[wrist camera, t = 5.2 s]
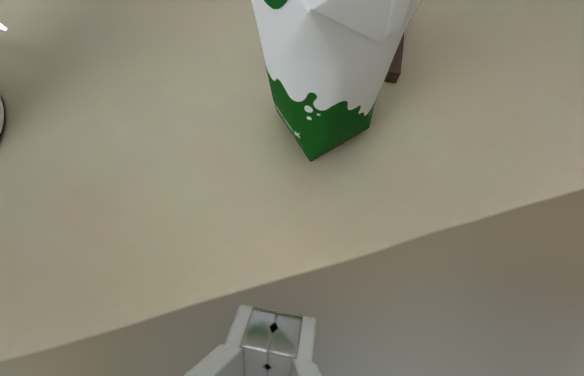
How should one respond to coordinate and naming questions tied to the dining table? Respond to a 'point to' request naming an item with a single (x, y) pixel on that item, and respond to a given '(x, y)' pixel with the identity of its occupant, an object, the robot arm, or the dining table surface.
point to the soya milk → (329, 63)
